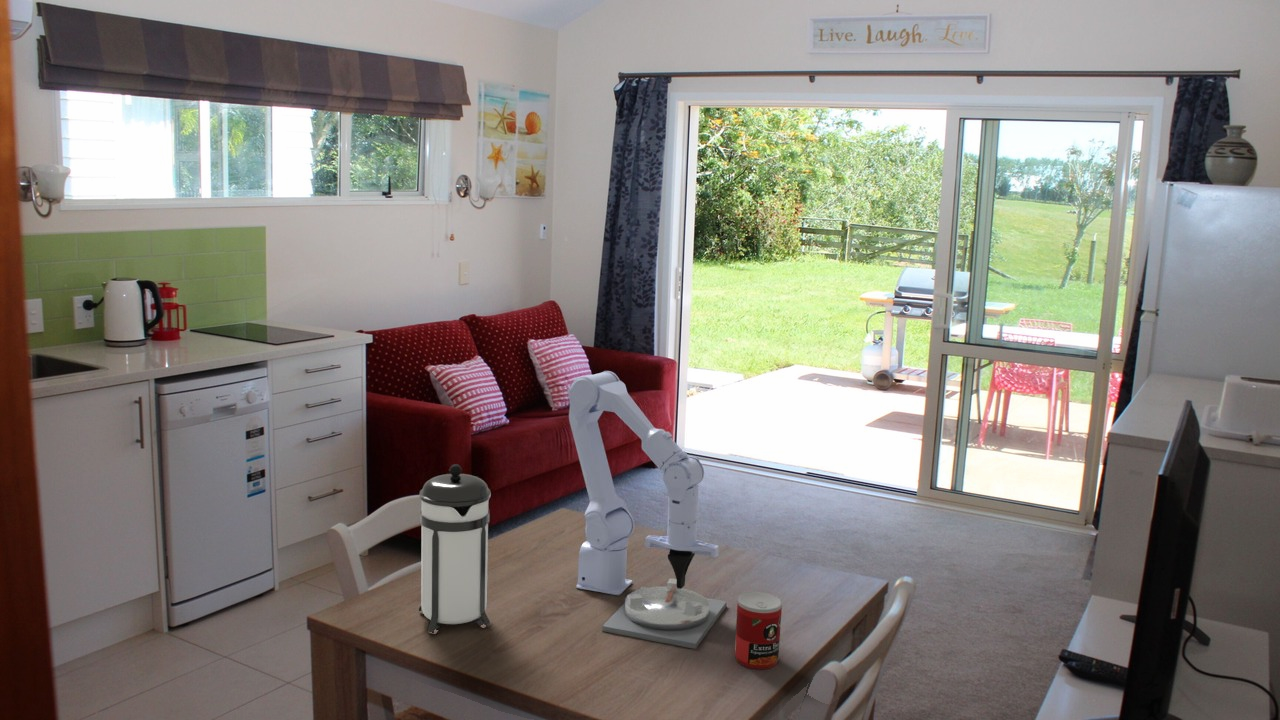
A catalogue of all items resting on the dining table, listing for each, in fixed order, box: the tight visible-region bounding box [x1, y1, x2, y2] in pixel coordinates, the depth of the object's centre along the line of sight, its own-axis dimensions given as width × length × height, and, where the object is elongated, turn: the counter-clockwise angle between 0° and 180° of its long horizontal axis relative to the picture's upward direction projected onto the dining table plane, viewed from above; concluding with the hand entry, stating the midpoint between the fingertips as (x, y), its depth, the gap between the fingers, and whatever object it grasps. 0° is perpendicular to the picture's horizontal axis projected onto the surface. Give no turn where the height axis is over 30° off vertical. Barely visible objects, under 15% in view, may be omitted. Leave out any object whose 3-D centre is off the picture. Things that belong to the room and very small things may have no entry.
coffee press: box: [418, 463, 492, 633], centre depth 191 cm, size 17×16×30 cm
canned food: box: [734, 591, 783, 670], centre depth 180 cm, size 8×8×11 cm
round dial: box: [624, 577, 709, 630], centre depth 196 cm, size 16×16×4 cm
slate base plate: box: [601, 586, 727, 650], centre depth 197 cm, size 18×21×1 cm
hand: (680, 586), depth 202 cm, fingers closed, pressing on round dial
